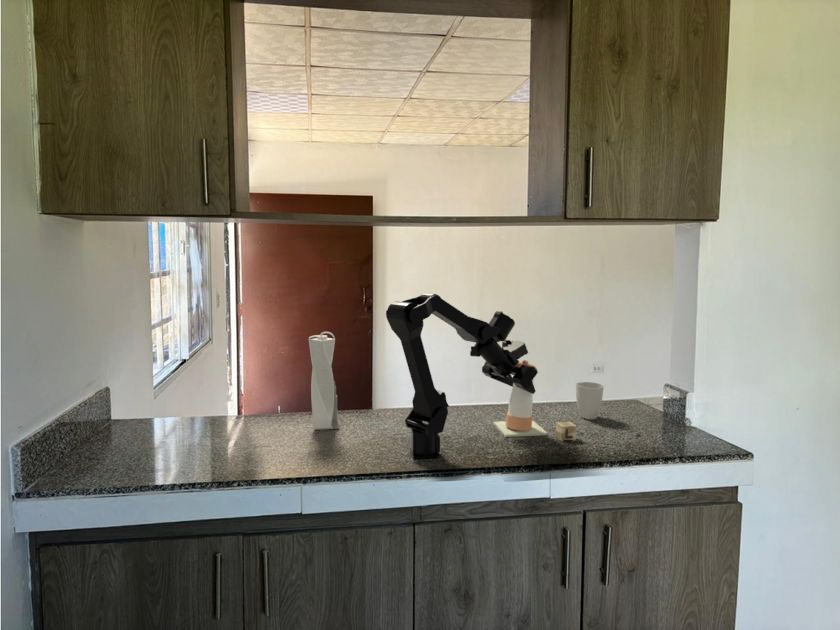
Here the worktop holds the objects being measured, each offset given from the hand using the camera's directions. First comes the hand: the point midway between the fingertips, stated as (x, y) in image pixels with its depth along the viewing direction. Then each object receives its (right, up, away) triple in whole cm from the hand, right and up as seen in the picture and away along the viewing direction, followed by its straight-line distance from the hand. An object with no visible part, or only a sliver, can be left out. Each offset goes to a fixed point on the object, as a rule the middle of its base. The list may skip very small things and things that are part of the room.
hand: (524, 389), depth 159 cm
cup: (+22, -10, +13) cm, 28 cm away
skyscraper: (-57, -11, +1) cm, 58 cm away
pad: (-1, -11, +1) cm, 12 cm away
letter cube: (+10, -12, -7) cm, 17 cm away
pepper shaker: (-2, -11, 0) cm, 11 cm away
